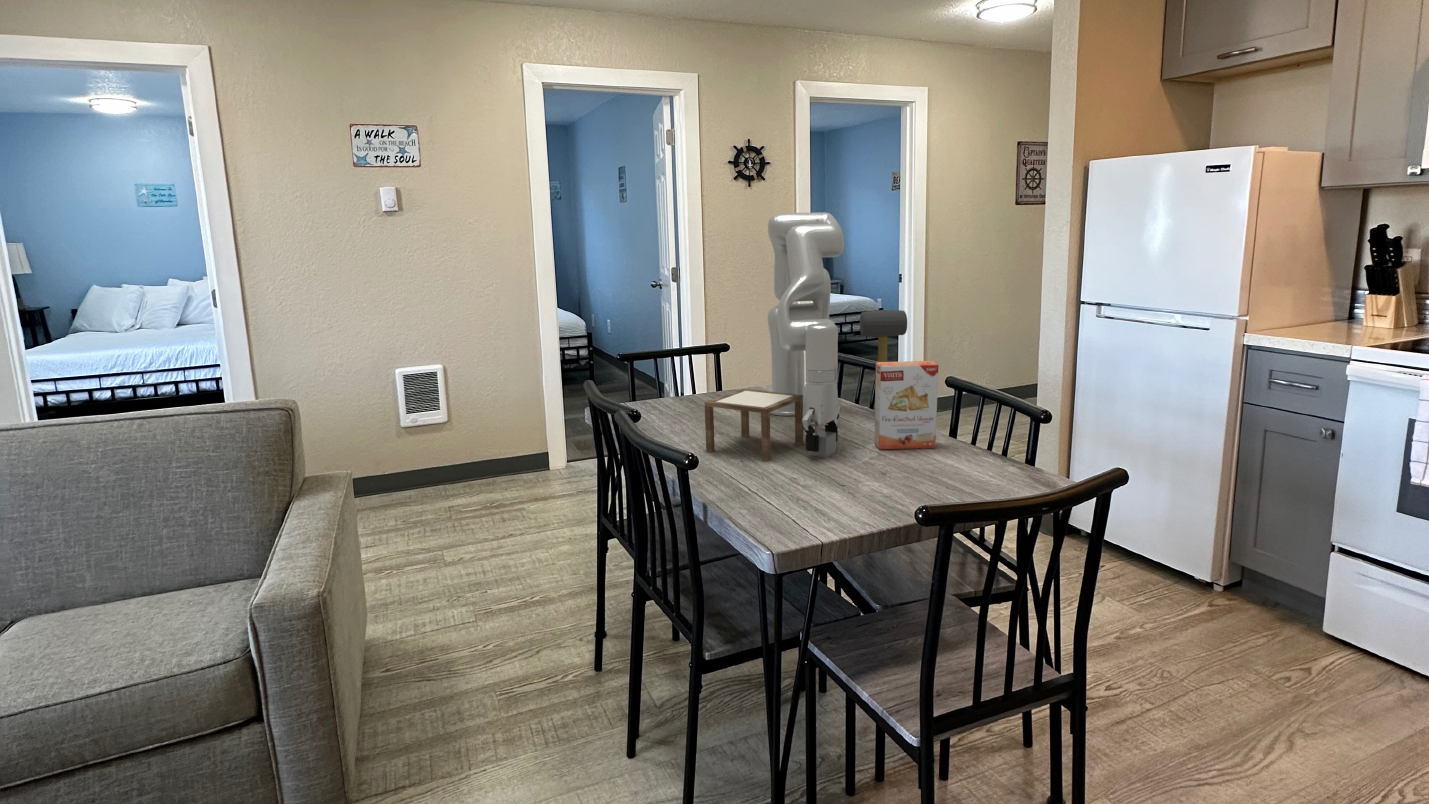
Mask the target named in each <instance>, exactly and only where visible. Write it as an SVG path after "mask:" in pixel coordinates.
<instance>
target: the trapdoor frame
mask: <svg viewBox="0 0 1429 804" xmlns="http://www.w3.org/2000/svg"><path fill="white" fill-rule="evenodd" d="M744 391H752V392H762V393H771V394H781V395H791V396H792V397H790V398H787V399H785V400H782V401H779V402H777V403H774V404H772V405H769V406H766V407H757V406H748V405H740V404H731V403H722V402H716V401H719V400H721V399H724V398H727V397H730V396H732V395H735V394H738V393H741V392H744ZM794 402H795V415H794V436H795V437H794V438H795V439H794V441H795V442H794V444H795V445H798V446H801V445H803V444H804V428H803V427H804V426H803V423H802V419H803V395H798V394H788V393H778V392H772V391H767V390H757V389H748V388H746V389H745V388H743V389H739V390H736V391H734V392H730V393H726V394H724V395H722V396H719V397H716V398H713V399H710V400H707V401H704V423H705V425H704V426H705V449H706V450H705V451H706V452H707V453H713V452H715V451H716V448H715V446H716V445H715V424H714V423H715V421H714V417H715V416H714V408H717V409H718V408H719V409H726V410H736V411H740V426H741V427H740V429H741V430H740V431H741V438H742V437H743V438H748V437H750V413H749V412H752V413H760V418H761V419H760V426H761V427H760V431H761V436H760V437H761V461H765V462H768V461H771V460H772V459H771V457H772V456H771V455H772V453H771V414H770V412H772V411H774V410H777V409H779V408H782V407H784V406H787V405H789V404H792V403H794Z"/></svg>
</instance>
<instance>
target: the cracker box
mask: <svg viewBox="0 0 1429 804" xmlns="http://www.w3.org/2000/svg"><path fill="white" fill-rule="evenodd" d="M938 387H939V364H937V362H934V361H933V360H915V361H914V360H911V361H887V362H878V361H877V362H875V389H874V390H875V395H874V397H875V398H874V445H875V446H876V448H877V449H878V450H903V449H904V450H905V449H908V450H909V449H912V450H914V449H936V438H937V436H936V435H937V412H938V392H939V391H938V389H939V388H938Z"/></svg>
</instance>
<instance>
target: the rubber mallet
mask: <svg viewBox="0 0 1429 804" xmlns="http://www.w3.org/2000/svg"><path fill="white" fill-rule="evenodd" d="M859 330H860V335H861V336H862V337H869V338H871V337H872V338H873V337H874V338H875V337H878V345H877V347H878V348H877V349H878V350H877V351H878V352H877V362H888V337H895V336H904V335H906V333H907V330H908V315H907V313H906V311H905V310H901V309H900V310H898V309H897V310H896V309H880V310H878V309H877V310H867V311H862V312H861V313H860V316H859Z"/></svg>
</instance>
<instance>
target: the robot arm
mask: <svg viewBox="0 0 1429 804" xmlns="http://www.w3.org/2000/svg"><path fill="white" fill-rule="evenodd" d="M767 232H768V238H769V240H770V242H771V247H772V248H773V254H774V268H773V269H774V270H773V289H774V290H773V291H774V295H775V298H776V299H777V300H779V302H778V304H777V305H774V306H773V307H771V308H770V310H769V311H768V314H767V324H768V325H767V326H768V331H769V337H770V346H771V347H770V348H771V387H772V388H771V392H778V393H788V394H798V395H803V419H802V423H803V432H804V435H805V450H806V451H807V452H808V451H814V452H818V451H819V435H817V433H818V430H819V429H820V427H821V426H824V431H827V432H834V433H836V443H837V442H838V439H839V437H838V436H839V434H838V426H839V417H840V409H841V405H840V404H839V395H838V394H839V393H838V392H839V391H838V384H837V383H838V382H839V381H838V379H839V378H838V377H839V376H838V372H839V371H838V368H839V367H838V365H839V364H838V363H839V362H838V360H839V359H838V357H839V356H838V351H839V347H838V345H839V344H838V341H839V340H838V339H839V330H838V326H837V325H836V324H835V321H833V320H831V319H830V306H831V294H832V293H831V291H832V290H831V289H832V284H831V283H832V282H831V276H830V274H829V271H828V270H827V269H825V268H824V262H823V258H838V257H839V256H841V254H842V253H843V251H844V246H845V238H844V234H843V229H842V227H841V225H840V224H839V222H838V221H837V219H836V218H835V217H834V215H833V214H831V213H829V212H825V211H824V212H819V211H818V212H787V213H786V212H785V213H784V212H783V213H777V214H774V215H772V216H771V217H770V218H769V219H768V223H767ZM795 302H804V303H795ZM806 302H808V303H806ZM770 415H776V416H781V417H782V416H785V417H787V416H789V417H790V416H794V417H795V402H794V403H792V404H789V405H787V406H784V407H782V408H779V409H777V410H774V411H772V412H770ZM819 431H820V430H819Z"/></svg>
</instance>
